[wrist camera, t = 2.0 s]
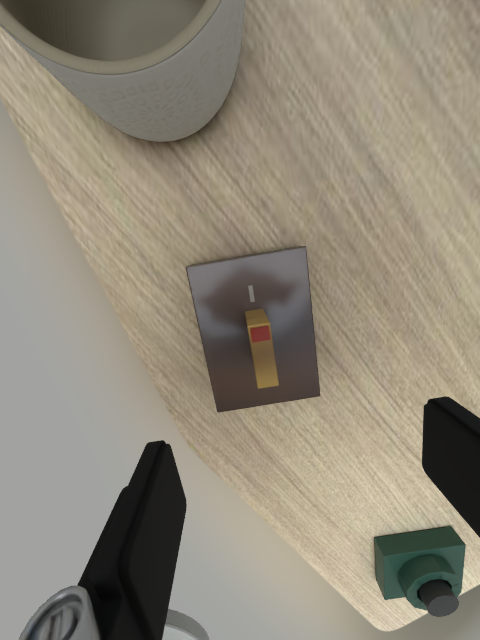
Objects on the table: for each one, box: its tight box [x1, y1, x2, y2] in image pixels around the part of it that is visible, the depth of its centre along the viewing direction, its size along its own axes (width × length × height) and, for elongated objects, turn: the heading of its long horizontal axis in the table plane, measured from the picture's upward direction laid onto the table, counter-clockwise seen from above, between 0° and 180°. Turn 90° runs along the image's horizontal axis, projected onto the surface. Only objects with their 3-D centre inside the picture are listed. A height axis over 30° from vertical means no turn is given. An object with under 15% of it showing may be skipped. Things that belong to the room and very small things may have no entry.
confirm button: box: [417, 579, 459, 617], centre depth 30 cm, size 4×4×2 cm
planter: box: [0, 0, 245, 142], centre depth 15 cm, size 12×12×11 cm
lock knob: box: [245, 309, 279, 389], centre depth 21 cm, size 5×2×5 cm, turn 9°
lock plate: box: [186, 246, 320, 412], centre depth 24 cm, size 14×10×3 cm
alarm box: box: [374, 526, 465, 610], centre depth 33 cm, size 10×8×4 cm
